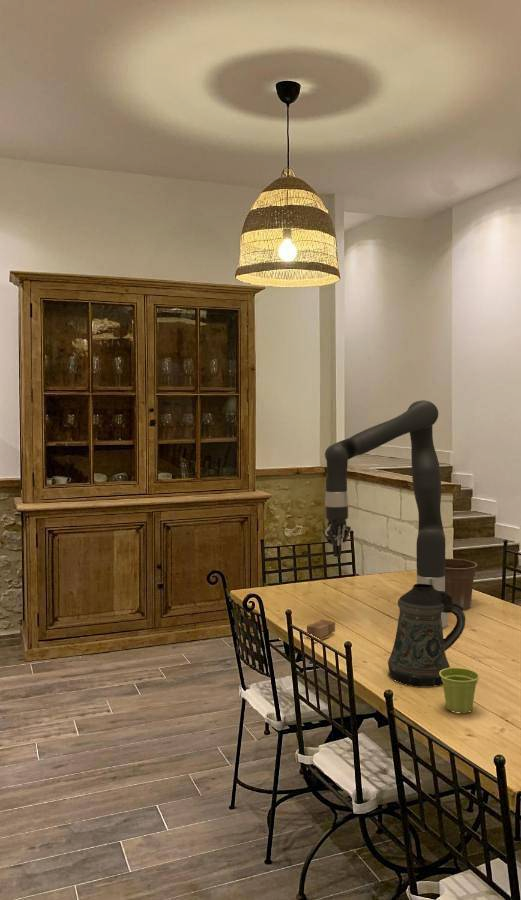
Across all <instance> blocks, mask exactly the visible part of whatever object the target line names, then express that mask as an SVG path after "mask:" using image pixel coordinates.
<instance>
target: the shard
mask: <svg viewBox="0 0 521 900" xmlns="http://www.w3.org/2000/svg"><path fill="white" fill-rule="evenodd" d="M331 636H332V637H334V633H333V632H332V633H330V634H328V635H326V636H324V637H321V638H319V639H320V640H322V639H324V640H326V639H325V638H327V639H329V638H332V637H331ZM328 637H329V638H328ZM317 638H318V637H317ZM322 641H323V640H322ZM314 643H315V644H317V643H316V642H314ZM314 643H313V644H314Z"/></svg>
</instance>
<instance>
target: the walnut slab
mask: <svg viewBox="0 0 521 900" xmlns="http://www.w3.org/2000/svg"><path fill="white" fill-rule="evenodd" d="M334 632H336V621H332V620H326V619H320V620H318V621H316V622H313V623H310V624H308V625H306V634H307V633H309V634H312V635H313V636H315V637H318V638H321V637H324V636H326V635H328V634H330V633H332V634H333V633H334Z"/></svg>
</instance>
